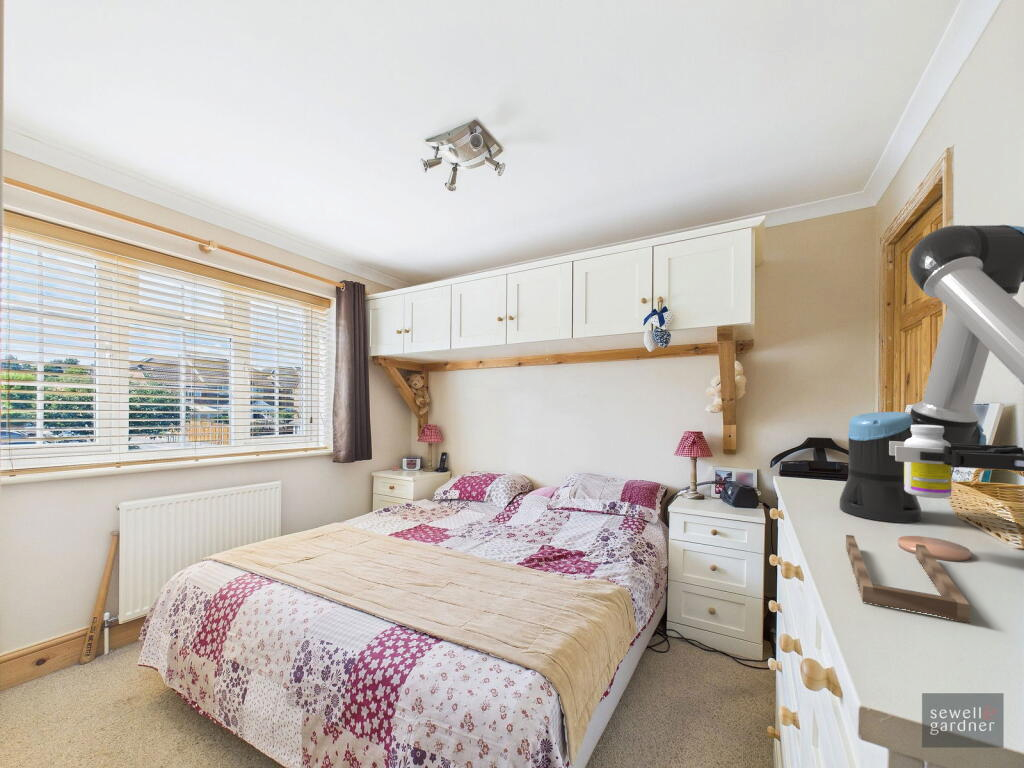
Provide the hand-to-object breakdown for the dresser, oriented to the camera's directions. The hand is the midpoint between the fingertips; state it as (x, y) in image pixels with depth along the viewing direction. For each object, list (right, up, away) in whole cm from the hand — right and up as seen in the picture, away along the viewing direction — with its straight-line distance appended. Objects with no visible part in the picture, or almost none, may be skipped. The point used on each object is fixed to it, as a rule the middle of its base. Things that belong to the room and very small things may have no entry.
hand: (892, 450), depth 90 cm
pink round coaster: (+5, -18, -3) cm, 19 cm away
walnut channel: (-11, -19, -14) cm, 26 cm away
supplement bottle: (+4, -8, -3) cm, 9 cm away
